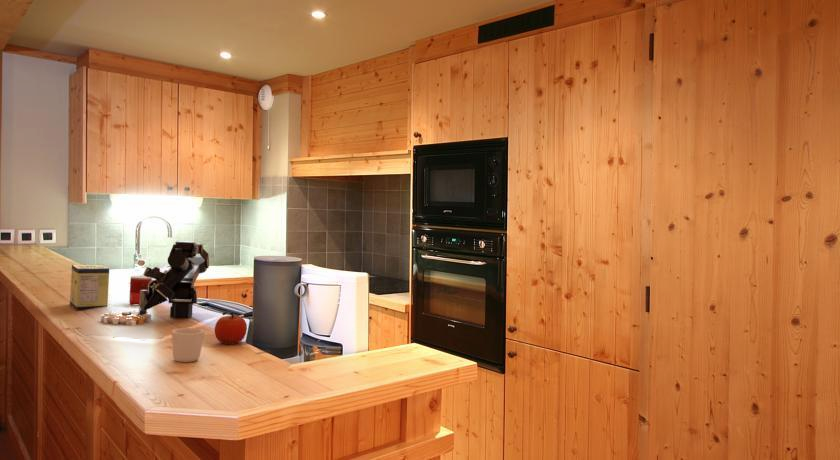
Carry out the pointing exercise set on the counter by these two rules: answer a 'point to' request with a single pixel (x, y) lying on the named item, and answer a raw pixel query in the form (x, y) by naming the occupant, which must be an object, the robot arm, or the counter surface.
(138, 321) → the sprocket
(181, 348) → the cup
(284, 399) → the counter surface
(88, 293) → the protein box
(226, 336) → the fruit
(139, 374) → the counter surface
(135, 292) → the canned food
